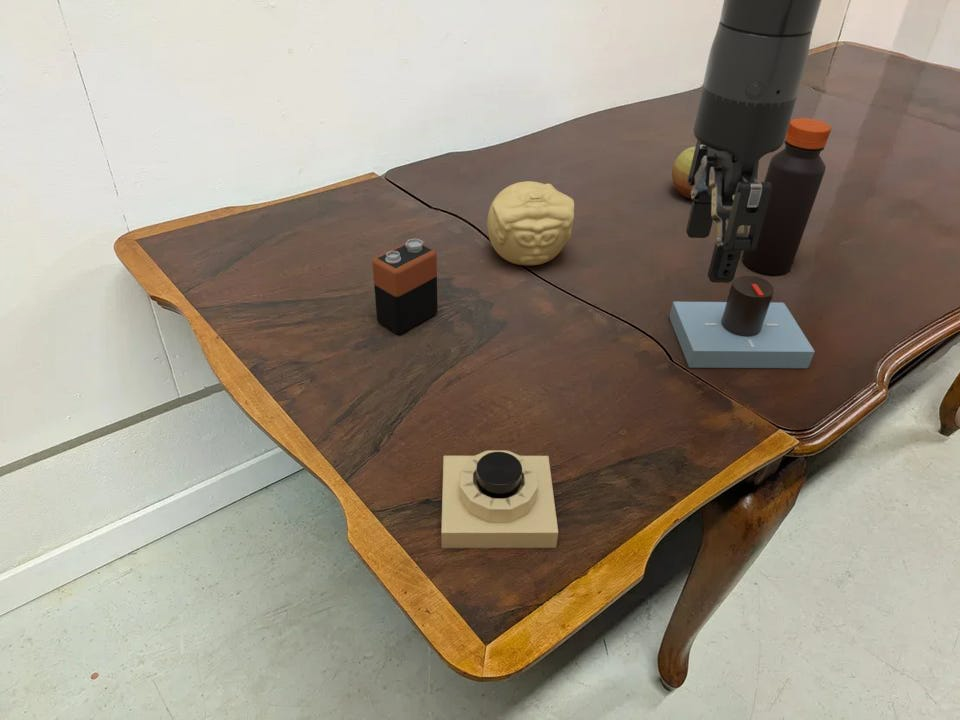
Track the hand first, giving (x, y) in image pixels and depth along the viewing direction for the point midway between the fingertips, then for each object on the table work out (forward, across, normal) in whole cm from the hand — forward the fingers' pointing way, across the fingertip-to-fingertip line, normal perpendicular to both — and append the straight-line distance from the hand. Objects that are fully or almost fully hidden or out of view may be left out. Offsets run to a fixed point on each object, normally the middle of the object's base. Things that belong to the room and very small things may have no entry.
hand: (707, 257), depth 68 cm
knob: (+14, +9, -10) cm, 19 cm away
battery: (+17, +13, +31) cm, 37 cm away
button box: (+17, -17, +20) cm, 31 cm away
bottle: (+17, +28, -19) cm, 38 cm away
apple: (+17, +50, -15) cm, 55 cm away
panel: (+17, +9, -10) cm, 21 cm away
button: (+13, -17, +20) cm, 29 cm away
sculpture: (+17, +29, +15) cm, 37 cm away
